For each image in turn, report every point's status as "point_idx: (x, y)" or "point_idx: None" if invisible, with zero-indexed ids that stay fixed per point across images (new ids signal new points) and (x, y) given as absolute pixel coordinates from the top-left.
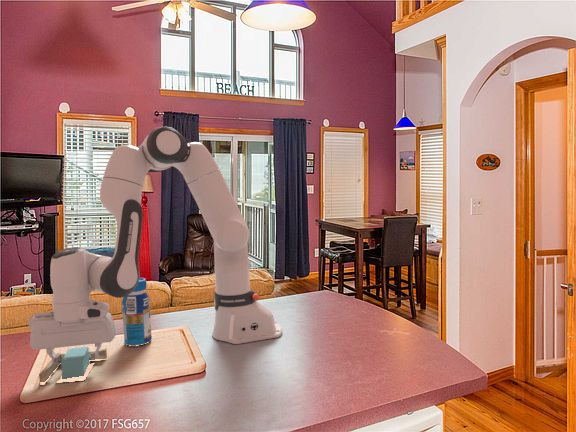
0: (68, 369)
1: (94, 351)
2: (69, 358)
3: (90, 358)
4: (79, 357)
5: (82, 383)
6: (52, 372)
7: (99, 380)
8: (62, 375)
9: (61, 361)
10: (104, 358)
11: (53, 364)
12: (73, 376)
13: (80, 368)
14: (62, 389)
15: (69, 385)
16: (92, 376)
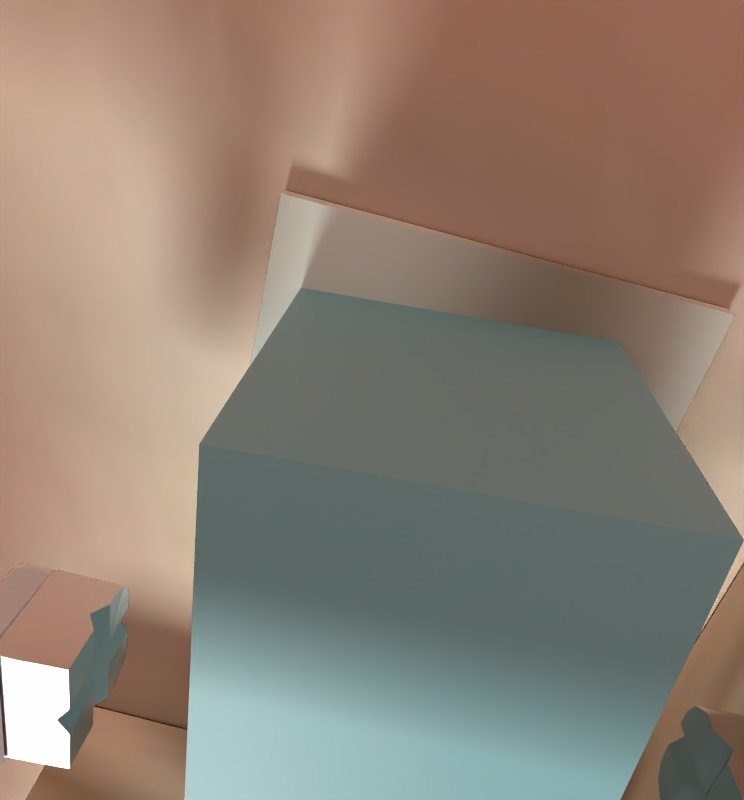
0: (542, 405)
1: (20, 746)
2: (522, 645)
3: None
4: (290, 591)
5: (321, 121)
6: (728, 646)
7: (57, 104)
8: (638, 379)
9: (728, 570)
10: None
11: None
12: (454, 328)
13: (312, 355)
14: (651, 23)
15: (525, 147)
16: (189, 323)
